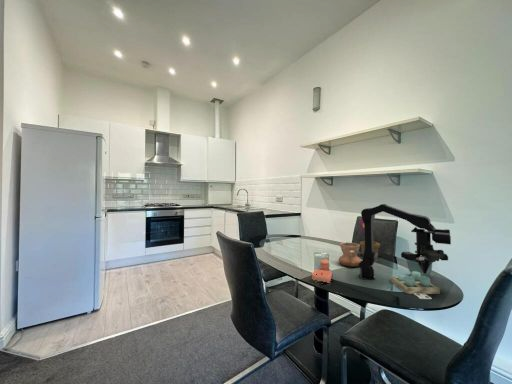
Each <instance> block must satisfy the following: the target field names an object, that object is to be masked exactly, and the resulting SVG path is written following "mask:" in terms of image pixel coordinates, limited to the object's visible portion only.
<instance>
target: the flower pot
mask: <svg viewBox="0 0 512 384" xmlns="http://www.w3.org/2000/svg"><path fill="white" fill-rule="evenodd" d="M406 264H407V269H408V271H409V272H410V273H411V272H412V271H416V272H420V273H421V276H426V277H429V275H430V274H431V272H432V269H433V263H431V264H430V266H429V268H428V270H427V273H426V274H424V273H423V272H422V270H421V268H420V266H419V264H418V263H417V261H416V260H406Z"/></svg>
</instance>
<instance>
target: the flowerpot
mask: <svg viewBox="0 0 512 384" xmlns="http://www.w3.org/2000/svg"><path fill="white" fill-rule="evenodd" d="M358 224H359V225H360V231H364V233H365V230H364V222H363V220H362V219H361V221H359V222H358ZM358 245H360V246H359V247H360V248H361V255H362V256H363V254H364V251H365V240H363V241H362V240H361V241H359V243H358ZM373 247H374V251H375V252H378V254H377V257H378V258H379V248H381V242H380V243H379V242H377V241H373Z"/></svg>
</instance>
